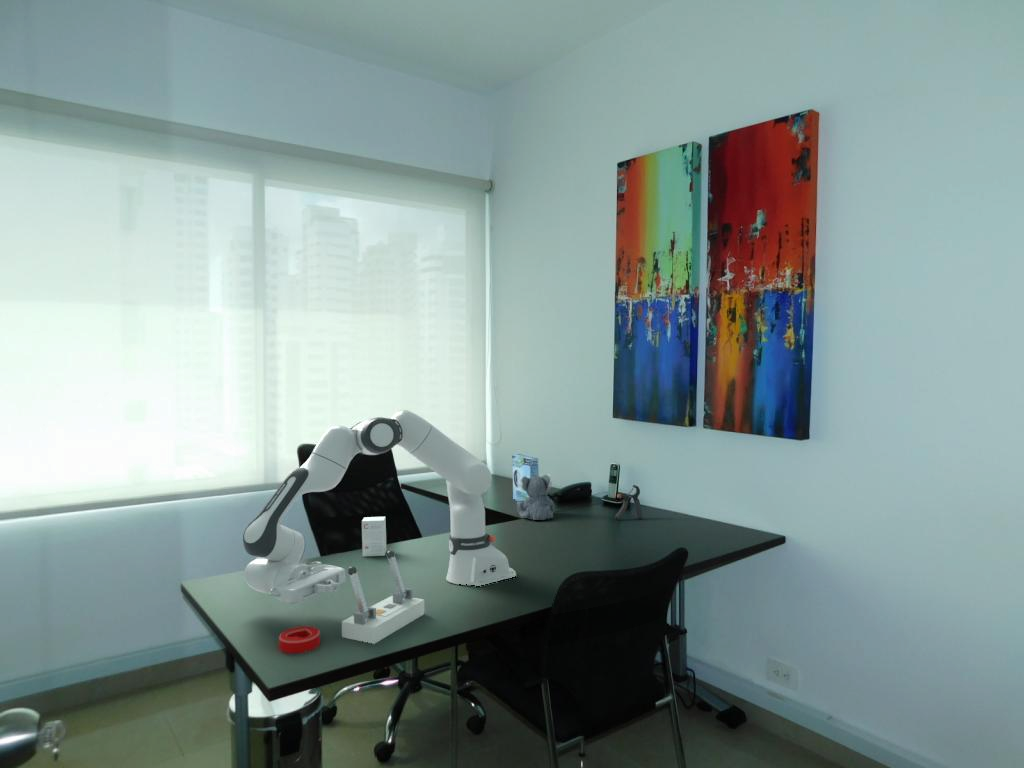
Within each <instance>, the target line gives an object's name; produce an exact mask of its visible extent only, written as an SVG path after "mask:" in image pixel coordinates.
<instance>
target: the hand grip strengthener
mask: <svg viewBox="0 0 1024 768" xmlns="http://www.w3.org/2000/svg"><path fill="white" fill-rule="evenodd" d="M634 489H635V490H636V491H635V493H634V494H631V493H632V492H633V491H634ZM640 489H641V488H640V487H639V486H638V485H635V484H633V485H632V487H631V488H630V489H629V491H628V492H627V493H626V494H622V493H617V495H616V497H617V498H618V499H622V500H623V502H622V505H621V507H620V509H619V510H618V512H617V513H616V514H615V516H614V518H615V519H616V520H619V519H620V518H621V517H622V516H623V515H624V514H625V512H626V509H627V508H628V505H629V501H630V499H633V503H634V507H635V511H636V516H637V517H636V518H637V520H642V519H643V509H642V505H641V502H640V499H639V498H638V497H639V495H640V493H641V490H640Z"/></svg>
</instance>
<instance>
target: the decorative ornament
mask: <svg viewBox="0 0 1024 768" xmlns="http://www.w3.org/2000/svg"><path fill="white" fill-rule="evenodd" d="M319 644H320V645H321V631H320V630H319V628H316V627H314V626H296V627H292V628H289V629H287V630H283V632H281V633H280V634H279V636H278V649H279V651H280V652H281V651H282V652H281V653H284V652H285V653H284V654H290V653H297V654H302V653H301V652H304V653H306V652H305V651H308V652H310V651H309V650H311V651H313V650H315V649H317V648H318V647H319V646H320V645H319ZM316 647H317V648H316ZM314 648H315V649H314ZM312 649H313V650H312Z"/></svg>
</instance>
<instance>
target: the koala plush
mask: <svg viewBox="0 0 1024 768" xmlns="http://www.w3.org/2000/svg"><path fill="white" fill-rule="evenodd" d="M519 481H520V483H519V484H520V487H521V488H522V489H523V491H526V492H527V495H528V496H529V497H527V498H526V499H525V501H523V500H519V501H516V508H517V509H516V511H517V513H518V515H519V517H521V519H525V518H531V519H530V520H532V519H533V520H532V521H534V520H543V521H545V520H547V519H548V520H551V519H553V518H554V513H555V507H556V505H555V502H554V501H553V500H552V498H551V497H550V496H548V495H547V494H546V492H547V491H549V490H550V489H551V488H552V485H553V477H552V476H551V474H549V473H547V474H544V475H542V476H532V477H530V478H527V477H525V476H524V477H523V476H522V477H520V478H519ZM550 518H551V519H550Z"/></svg>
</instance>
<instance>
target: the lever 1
mask: <svg viewBox="0 0 1024 768" xmlns="http://www.w3.org/2000/svg"><path fill="white" fill-rule="evenodd" d="M347 573H348V575H349V576H348V577H349V579H350V582H351V585H352V588H353V592H354V596H355V600H356V602H357V605H358V609H359V612H360V613H363V614H365V619H366V618H368V617H370V616H371V615H372V611H371V610H370V609H368V608H367V607H368V605H367V601H366V599H365V595H364V591H363V588H362V584H361V582H360V578H359V575H358V569H357V567H355V566H349V567H348V570H347Z"/></svg>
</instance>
